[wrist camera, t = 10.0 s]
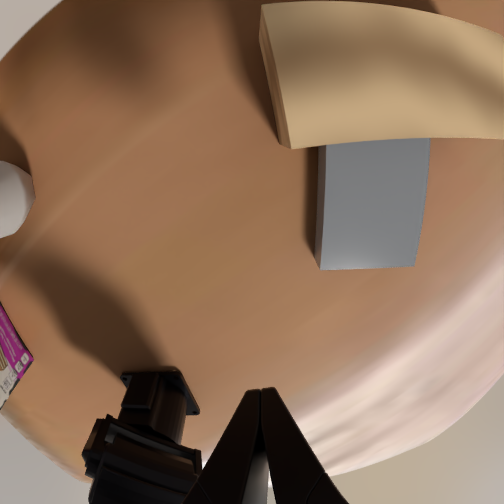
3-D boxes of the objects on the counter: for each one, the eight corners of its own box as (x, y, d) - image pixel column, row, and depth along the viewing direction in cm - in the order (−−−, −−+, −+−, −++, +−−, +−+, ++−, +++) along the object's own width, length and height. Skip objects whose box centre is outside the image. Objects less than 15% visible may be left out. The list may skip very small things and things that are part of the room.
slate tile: (399, 252, 20) (414, 266, 18) (312, 254, 20) (320, 270, 18) (410, 66, 15) (428, 61, 13) (314, 50, 15) (323, 40, 13)
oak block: (470, 132, 16) (519, 140, 11) (279, 143, 17) (291, 149, 12) (455, 45, 13) (502, 35, 8) (258, 39, 14) (261, 4, 9)
